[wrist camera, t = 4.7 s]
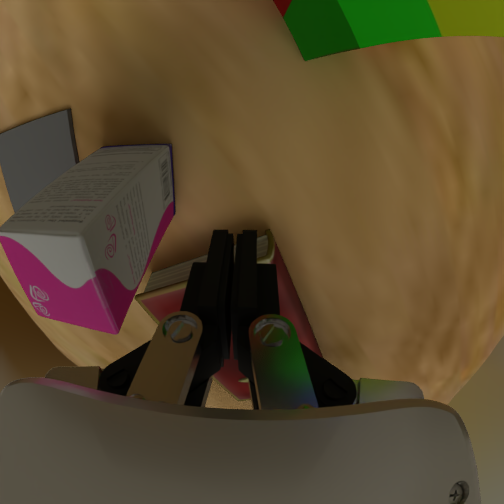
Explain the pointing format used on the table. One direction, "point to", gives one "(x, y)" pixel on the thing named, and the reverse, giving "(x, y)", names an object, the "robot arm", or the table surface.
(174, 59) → the table surface
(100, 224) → the supplement box
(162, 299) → the hardcover book
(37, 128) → the mat
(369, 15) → the puzzle toy
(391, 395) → the robot arm
